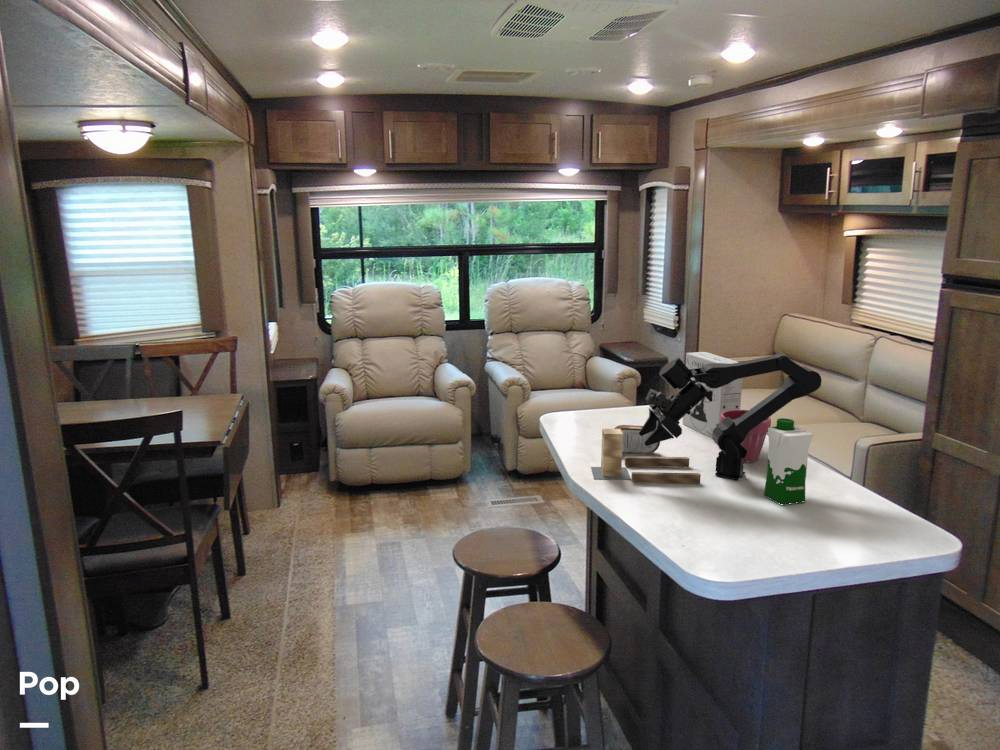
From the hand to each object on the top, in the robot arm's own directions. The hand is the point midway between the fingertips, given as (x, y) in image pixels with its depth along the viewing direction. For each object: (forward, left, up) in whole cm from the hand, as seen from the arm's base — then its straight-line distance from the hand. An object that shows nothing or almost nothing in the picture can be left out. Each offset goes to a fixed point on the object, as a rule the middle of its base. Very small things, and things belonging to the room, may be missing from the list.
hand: (642, 439), depth 202 cm
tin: (+10, -16, -10) cm, 21 cm away
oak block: (+7, +5, -10) cm, 13 cm away
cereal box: (-1, -52, -10) cm, 53 cm away
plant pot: (-18, -31, -10) cm, 38 cm away
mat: (+7, +5, -10) cm, 13 cm away
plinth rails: (-5, -3, -10) cm, 11 cm away
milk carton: (-37, -3, -10) cm, 39 cm away
